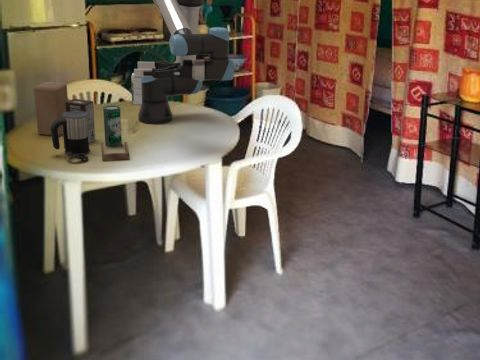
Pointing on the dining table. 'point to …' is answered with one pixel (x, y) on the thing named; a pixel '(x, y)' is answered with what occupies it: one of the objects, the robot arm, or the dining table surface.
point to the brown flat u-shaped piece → (115, 154)
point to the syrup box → (136, 90)
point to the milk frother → (72, 134)
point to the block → (50, 105)
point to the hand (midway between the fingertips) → (135, 68)
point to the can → (112, 126)
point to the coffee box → (84, 107)
